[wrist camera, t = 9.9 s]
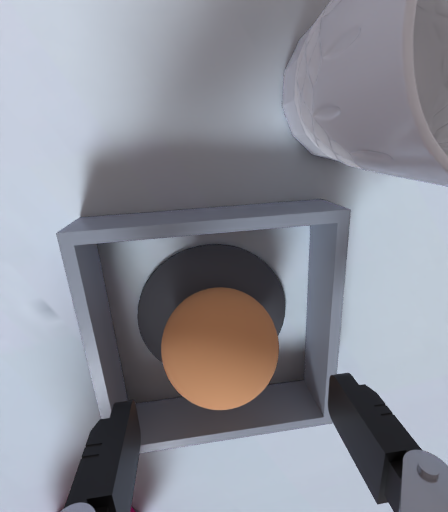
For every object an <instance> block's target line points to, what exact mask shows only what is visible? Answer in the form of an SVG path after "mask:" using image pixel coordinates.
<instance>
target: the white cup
mask: <svg viewBox="0 0 448 512" xmlns="http://www.w3.org/2000/svg"><path fill="white" fill-rule="evenodd" d="M282 108H283V110H284V113H285V116H286V119H287V122H288V125H289V127H290V130H291V133H292V135H293V136H294V137H295V138H296V139H297V140H298V141H299V142H300V143H301V144H302V145H303V146H304V147H305V148H306V149H307V150H308V151H309V152H310V153H311V154H312V155H315V156H319V157H323V158H327V159H330V160H334V161H338V162H342V163H343V164H345V165H348V166H351V167H356V168H360V169H363V170H366V171H371V172H376V173H381V174H386V175H391V176H396V177H401V178H406V179H411V180H416V181H421V182H426V183H431V184H436V185H441V186H446V187H448V0H331V1H330V2H329V3H328V4H327V6H326V7H325V9H324V10H323V11H322V13H321V14H320V16H319V17H318V19H317V20H316V22H315V23H314V24H313V25H312V26H311V27H310V29H309V30H308V31H307V32H306V33H305V34H304V35H303V36H302V37H301V38H300V40H299V42H298V44H297V46H296V48H295V50H294V52H293V54H292V56H291V59H290V61H289V63H288V65H287V67H286V69H285V71H284V82H283V97H282Z"/></svg>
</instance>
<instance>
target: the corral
mask: <svg viewBox="0 0 448 512" xmlns="http://www.w3.org/2000/svg"><path fill="white" fill-rule="evenodd" d="M350 213H351V209H348V208H345V207H343V206H340V205H337V204H334V203H331V202H329V201H326V200H323V199H316V200H303V201H290V202H277V203H264V204H250V205H237V206H224V207H211V208H198V209H185V210H172V211H159V212H146V213H133V214H120V215H106V216H93V217H80V218H78V219H77V220H75V221H74V222H72V223H71V224H69V225H68V226H66V227H65V228H63V229H62V230H60V231H59V232H57V233H56V235H57V239H58V243H59V247H60V251H61V256H62V260H63V264H64V268H65V272H66V276H67V280H68V284H69V289H70V293H71V297H72V301H73V305H74V309H75V313H76V317H77V322H78V326H79V330H80V334H81V338H82V342H83V346H84V350H85V355H86V359H87V363H88V367H89V371H90V375H91V379H92V383H93V388H94V392H95V396H96V400H97V404H98V408H99V412H100V416H101V419H105V418H110V414H111V411H112V407H113V405H114V403H115V402H123V401H128V398H127V393H126V388H125V383H124V378H123V373H122V368H121V363H120V358H119V353H118V348H117V343H116V338H115V333H114V328H113V323H112V318H111V313H110V308H109V303H108V298H107V293H106V288H105V283H104V278H103V273H102V267H101V262H100V257H99V252H98V247H97V243H108V242H120V241H132V240H144V239H155V238H167V237H179V236H191V235H202V234H214V233H226V232H237V231H249V230H261V229H273V228H284V227H296V226H308V225H310V249H309V272H308V296H307V320H306V344H305V368H304V380H301V381H294V382H287V383H280V384H272V385H267V386H266V387H265V389H264V390H263V391H262V392H261V393H260V394H259V395H258V396H257V397H255V398H254V399H253V400H251V401H250V402H248V403H246V404H244V405H242V406H240V407H237V408H233V409H228V410H212V409H207V408H203V407H200V406H198V405H195V404H193V403H191V402H190V401H188V400H187V399H186V398H184V397H179V398H172V399H165V400H158V401H151V402H144V403H136V409H137V414H138V420H139V425H140V431H141V445H140V452H139V454H140V453H146V452H153V451H159V450H166V449H172V448H178V447H185V446H191V445H198V444H204V443H210V442H217V441H223V440H230V439H236V438H242V437H249V436H255V435H262V434H268V433H274V432H281V431H287V430H294V429H300V428H306V427H313V426H319V425H326V424H332V423H333V422H332V420H331V417H330V414H329V411H328V391H329V378H330V376H331V375H336V374H337V365H338V354H339V342H340V330H341V318H342V307H343V295H344V283H345V271H346V260H347V248H348V236H349V224H350Z"/></svg>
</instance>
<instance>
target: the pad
mask: <svg viewBox="0 0 448 512" xmlns="http://www.w3.org/2000/svg"><path fill="white" fill-rule="evenodd" d="M217 287H224V288H231V289H236V290H239V291H241V292H244V293H246V294H248V295H250V296H251V297H253V298H254V299H255V300H256V301H258V302H259V303H260V304H261V305H262V306H263V307H264V308H265V310H266V311H267V312H268V314H269V315H270V317H271V319H272V321H273V323H274V326H275V328H276V331H277V336H278V335H279V333H280V330H281V328H282V325H283V321H284V317H285V298H284V293H283V290H282V287H281V284H280V282H279V280H278V279H277V277H276V275H275V274H274V272H273V271H272V270H271V268H270V267H269V266H268V265H267V264H266V263H265V262H264V261H262V260H261V259H260V258H258V257H257V256H255V255H254V254H252V253H250V252H248V251H246V250H243V249H240V248H237V247H233V246H229V245H219V244H218V245H203V246H197V247H194V248H190V249H187V250H185V251H182V252H180V253H178V254H176V255H174V256H173V257H171V258H169V259H168V260H167V261H165V262H164V263H163V264H162V265H160V266H159V267H158V269H157V270H156V271H155V272H154V273H153V274H152V275H151V277H150V278H149V279H148V281H147V283H146V285H145V287H144V289H143V291H142V294H141V297H140V301H139V305H138V325H139V329H140V333H141V336H142V338H143V340H144V342H145V344H146V346H147V347H148V349H149V350H150V351H151V352H152V354H153V355H154V356H155V357H156V358H157V359H158V360H159V361H161V362H162V363H163V361H162V356H161V343H162V336H163V332H164V328H165V326H166V323H167V321H168V319H169V318H170V316H171V314H172V313H173V311H174V310H175V309H176V307H177V306H178V305H179V304H181V303H182V302H183V301H184V300H185V299H186V298H188V297H189V296H191V295H193V294H194V293H197V292H199V291H202V290H205V289H209V288H217Z"/></svg>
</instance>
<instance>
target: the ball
mask: <svg viewBox="0 0 448 512" xmlns="http://www.w3.org/2000/svg"><path fill="white" fill-rule="evenodd" d="M278 354H279V342H278V336H277V331H276V328H275V326H274V323H273V321H272V319H271V317H270V315H269V314H268V312H267V311H266V310H265V308H264V307H263V306H262V305H261V304H260V303H259V302H258V301H256V300H255V299H254V298H253V297H251V296H250V295H248V294H246V293H244V292H241V291H239V290H236V289H231V288H224V287H217V288H209V289H205V290H202V291H199V292H197V293H194V294H193V295H191V296H189V297H188V298H186V299H185V300H184V301H183V302H182V303H181V304H179V305H178V306H177V307H176V309H175V310H174V311H173V313H172V314H171V316H170V318H169V319H168V321H167V323H166V326H165V328H164V332H163V336H162V343H161V356H162V361H163V366H164V369H165V372H166V374H167V377H168V379H169V380H170V382H171V384H172V385H173V386H174V388H175V389H176V390H177V391H178V392H179V393H180V394H181V395H182V396H183V397H184V398H186V399H187V400H188V401H190V402H191V403H193V404H195V405H198V406H200V407H203V408H207V409H212V410H228V409H233V408H237V407H240V406H242V405H244V404H246V403H248V402H250V401H251V400H253V399H254V398H255V397H257V396H258V395H259V394H260V393H261V392H262V391H263V390H264V389H265V387H266V386H267V385H268V383H269V382H270V380H271V378H272V376H273V374H274V372H275V369H276V366H277V361H278Z"/></svg>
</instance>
